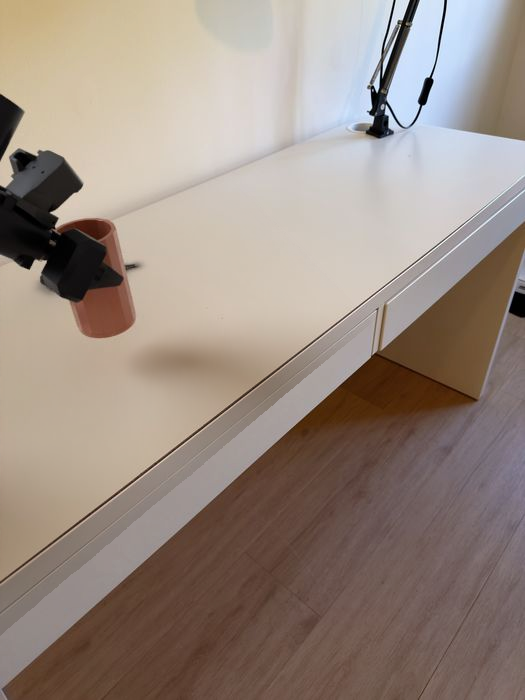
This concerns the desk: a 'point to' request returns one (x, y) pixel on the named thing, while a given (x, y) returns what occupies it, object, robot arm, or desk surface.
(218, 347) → the desk surface
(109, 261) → the pen cup
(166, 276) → the desk surface
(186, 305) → the desk surface
